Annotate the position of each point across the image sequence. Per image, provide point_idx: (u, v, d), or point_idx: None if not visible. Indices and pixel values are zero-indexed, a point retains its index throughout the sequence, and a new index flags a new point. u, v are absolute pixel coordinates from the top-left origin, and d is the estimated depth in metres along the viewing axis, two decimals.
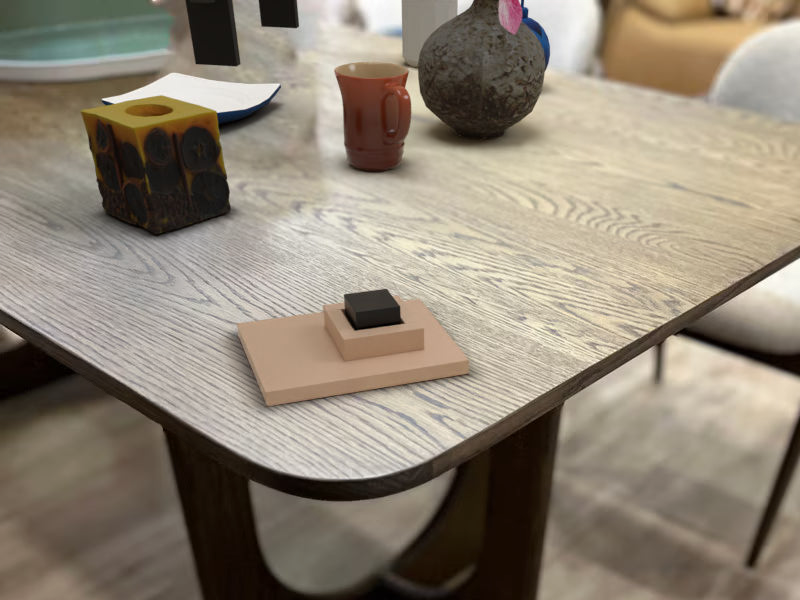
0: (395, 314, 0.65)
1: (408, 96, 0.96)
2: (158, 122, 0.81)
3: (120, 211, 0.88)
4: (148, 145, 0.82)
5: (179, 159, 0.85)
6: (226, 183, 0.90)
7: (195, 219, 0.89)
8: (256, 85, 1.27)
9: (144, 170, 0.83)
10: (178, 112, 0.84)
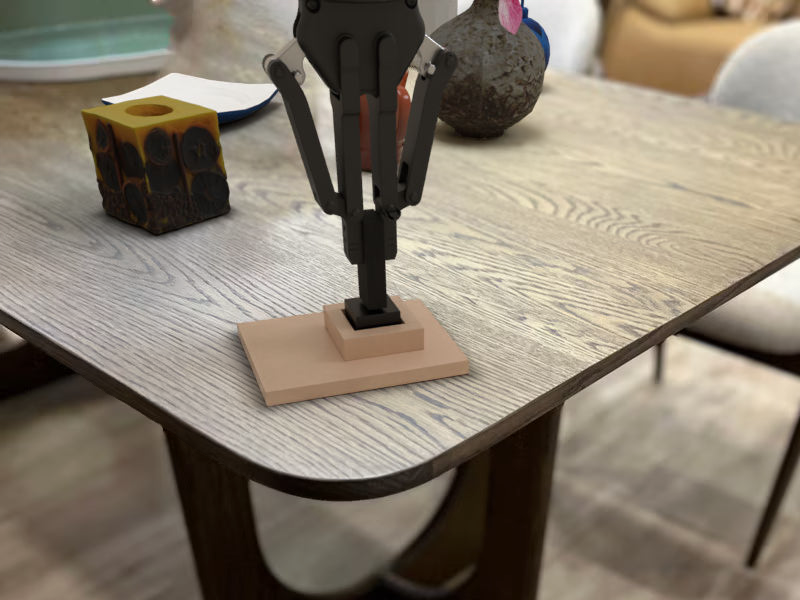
0: (395, 319, 0.66)
1: (408, 96, 0.96)
2: (158, 122, 0.81)
3: (120, 211, 0.88)
4: (148, 145, 0.82)
5: (179, 159, 0.85)
6: (226, 183, 0.90)
7: (195, 219, 0.89)
8: (256, 85, 1.27)
9: (144, 170, 0.83)
10: (178, 112, 0.84)
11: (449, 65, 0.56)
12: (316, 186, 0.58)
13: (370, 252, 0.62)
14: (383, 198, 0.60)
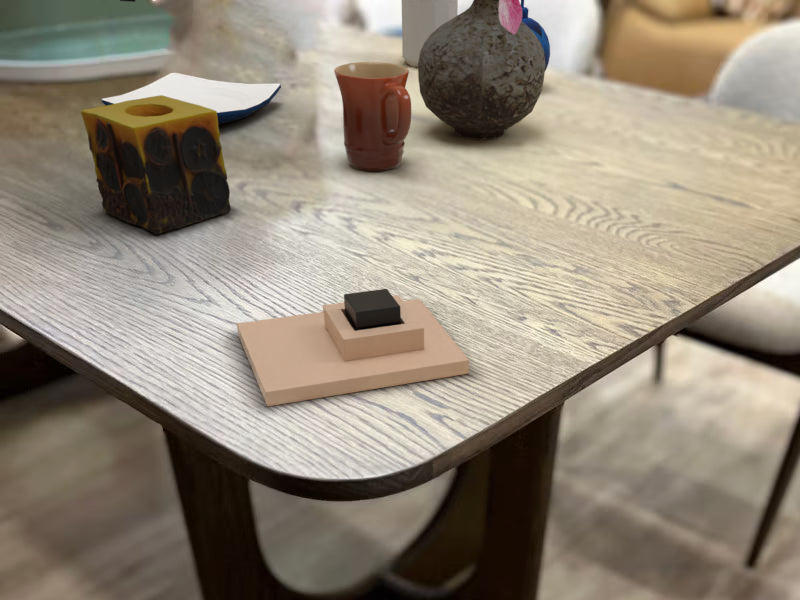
0: (395, 314, 0.65)
1: (408, 96, 0.96)
2: (158, 122, 0.81)
3: (120, 211, 0.88)
4: (148, 145, 0.82)
5: (179, 159, 0.85)
6: (226, 183, 0.90)
7: (195, 219, 0.89)
8: (256, 85, 1.27)
9: (144, 170, 0.83)
10: (178, 112, 0.84)
11: None
12: None
13: None
14: None
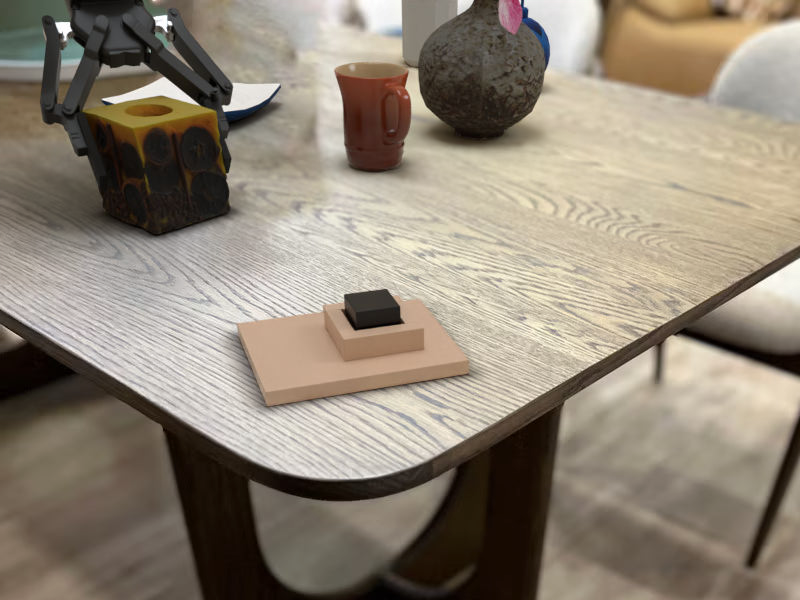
0: (395, 314, 0.65)
1: (408, 96, 0.96)
2: (157, 122, 0.81)
3: (119, 211, 0.88)
4: (148, 145, 0.81)
5: (178, 159, 0.85)
6: (226, 183, 0.90)
7: (195, 219, 0.89)
8: (256, 85, 1.27)
9: (143, 170, 0.83)
10: (178, 112, 0.84)
11: (174, 13, 0.87)
12: (42, 87, 0.82)
13: (87, 133, 0.83)
14: (203, 91, 0.88)
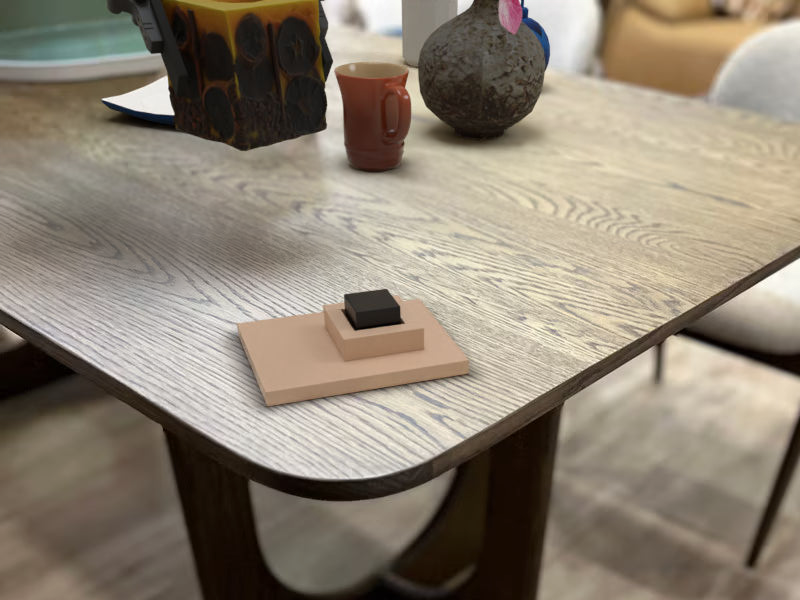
0: (395, 314, 0.65)
1: (408, 96, 0.96)
2: (252, 6, 0.66)
3: (197, 126, 0.73)
4: (240, 35, 0.66)
5: (273, 57, 0.69)
6: (324, 93, 0.74)
7: (288, 136, 0.73)
8: None
9: (234, 68, 0.67)
10: None
11: None
12: None
13: (164, 23, 0.67)
14: None
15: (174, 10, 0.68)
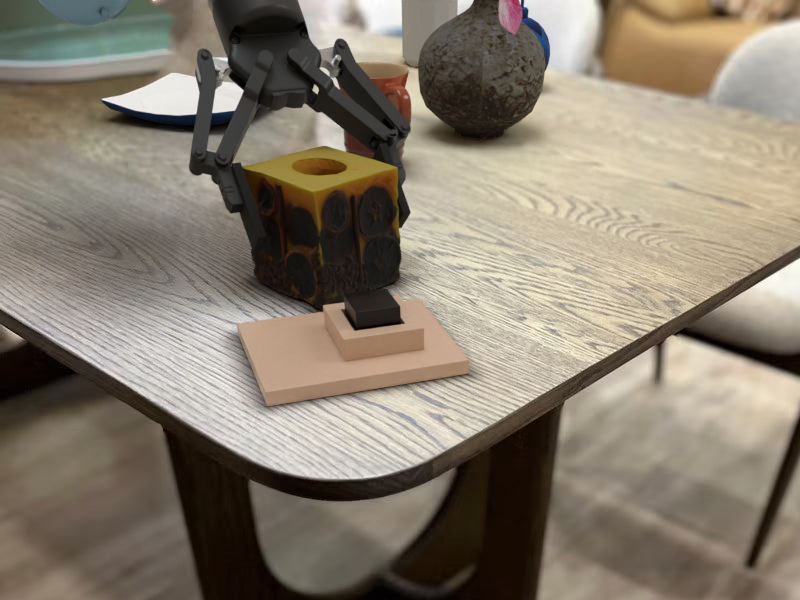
0: (395, 314, 0.65)
1: (408, 96, 0.96)
2: (338, 184, 0.69)
3: (277, 281, 0.76)
4: (326, 211, 0.69)
5: (354, 225, 0.72)
6: (399, 248, 0.77)
7: (364, 291, 0.76)
8: None
9: (318, 239, 0.70)
10: (355, 169, 0.72)
11: (343, 45, 0.75)
12: (194, 133, 0.69)
13: (244, 187, 0.70)
14: (379, 134, 0.75)
15: (261, 181, 0.71)
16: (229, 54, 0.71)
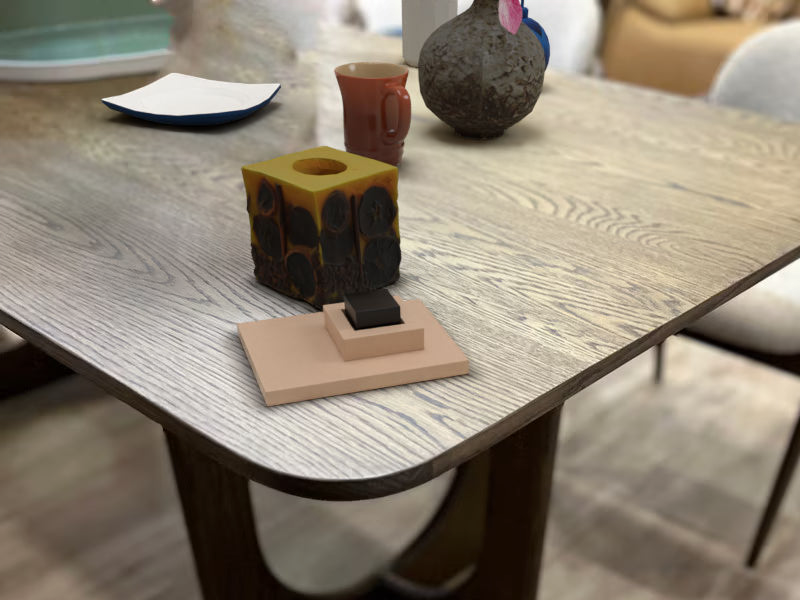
0: (395, 314, 0.65)
1: (408, 96, 0.96)
2: (338, 184, 0.69)
3: (277, 281, 0.76)
4: (326, 211, 0.69)
5: (354, 225, 0.72)
6: (399, 248, 0.77)
7: (364, 291, 0.76)
8: (256, 85, 1.27)
9: (318, 239, 0.70)
10: (355, 169, 0.72)
11: None
12: None
13: None
14: None
15: (261, 180, 0.71)
16: None
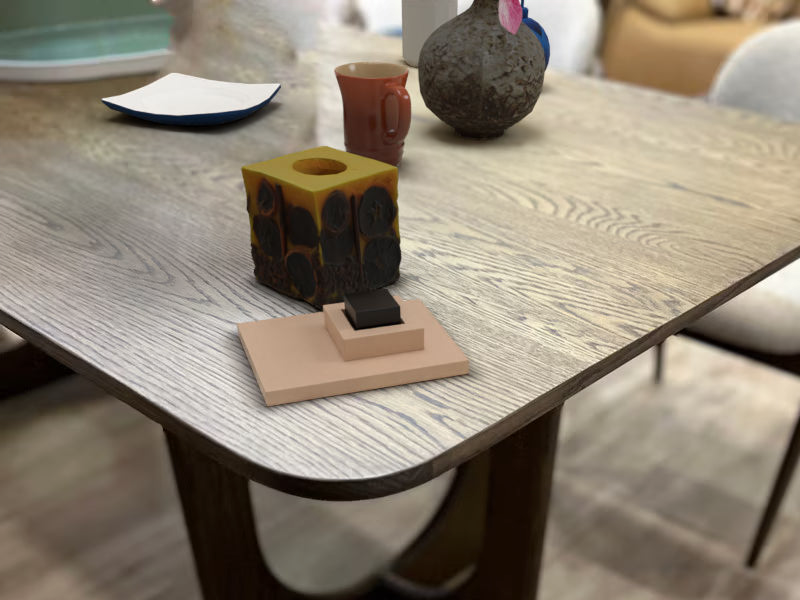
0: (395, 314, 0.65)
1: (408, 96, 0.96)
2: (338, 184, 0.69)
3: (277, 281, 0.76)
4: (326, 211, 0.69)
5: (354, 225, 0.72)
6: (399, 248, 0.77)
7: (364, 291, 0.76)
8: (256, 85, 1.27)
9: (318, 239, 0.70)
10: (355, 169, 0.72)
11: None
12: None
13: None
14: None
15: (261, 180, 0.71)
16: None
